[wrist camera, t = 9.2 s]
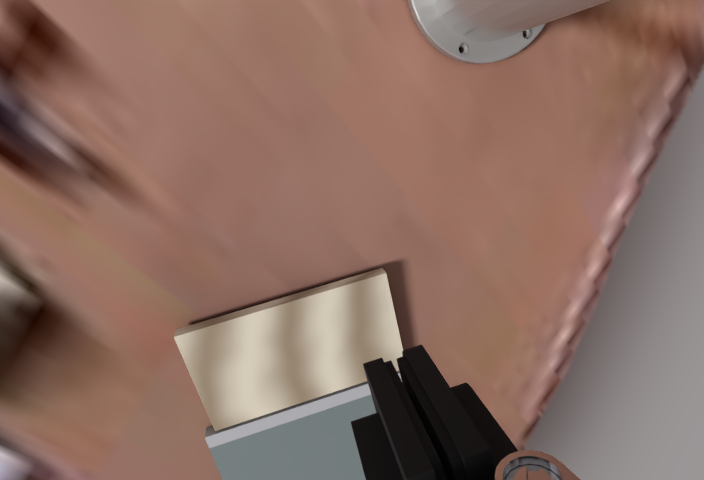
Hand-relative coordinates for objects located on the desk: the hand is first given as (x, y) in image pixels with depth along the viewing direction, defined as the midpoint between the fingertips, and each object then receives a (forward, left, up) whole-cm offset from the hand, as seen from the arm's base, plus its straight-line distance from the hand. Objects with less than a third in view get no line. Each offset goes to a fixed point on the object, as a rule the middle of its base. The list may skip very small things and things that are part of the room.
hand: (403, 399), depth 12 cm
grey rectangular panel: (+4, +22, -27) cm, 35 cm away
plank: (+4, +11, -26) cm, 29 cm away
